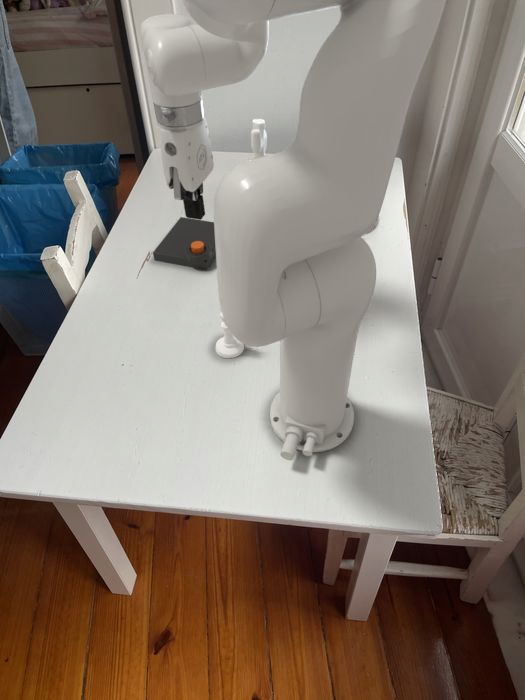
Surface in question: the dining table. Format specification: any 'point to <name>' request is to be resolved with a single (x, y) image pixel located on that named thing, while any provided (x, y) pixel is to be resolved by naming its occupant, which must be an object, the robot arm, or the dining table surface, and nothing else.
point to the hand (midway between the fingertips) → (195, 216)
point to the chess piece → (228, 343)
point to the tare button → (197, 247)
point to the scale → (188, 244)
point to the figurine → (258, 138)
